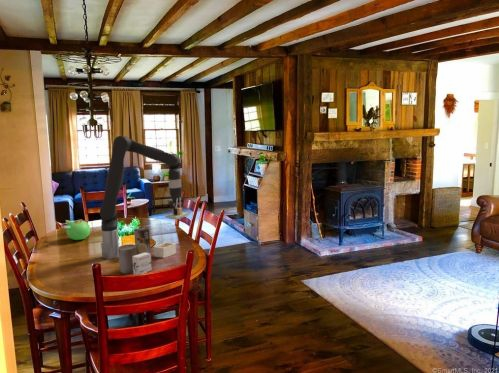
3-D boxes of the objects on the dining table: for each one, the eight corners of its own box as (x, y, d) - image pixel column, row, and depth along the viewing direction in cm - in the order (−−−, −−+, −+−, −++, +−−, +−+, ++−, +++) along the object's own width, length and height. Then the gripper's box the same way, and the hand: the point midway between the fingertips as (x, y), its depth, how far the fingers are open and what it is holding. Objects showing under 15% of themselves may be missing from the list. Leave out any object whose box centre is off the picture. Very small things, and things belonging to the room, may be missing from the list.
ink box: (146, 272, 216) (145, 251, 214) (152, 274, 213) (151, 253, 211) (133, 277, 210) (131, 255, 208) (138, 279, 206) (137, 257, 205)
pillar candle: (139, 267, 225) (138, 241, 223) (135, 273, 215) (133, 246, 213) (122, 268, 224) (120, 242, 222) (117, 274, 215) (115, 247, 213)
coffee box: (150, 251, 253) (149, 227, 251) (150, 254, 247) (149, 229, 244) (135, 253, 250) (134, 228, 248) (135, 256, 244) (134, 231, 242)
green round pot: (90, 241, 280) (89, 221, 278) (64, 244, 274) (62, 223, 272) (90, 235, 297) (89, 216, 295) (66, 237, 291) (64, 218, 289)
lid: (176, 220, 237) (176, 210, 236) (165, 219, 241) (164, 209, 240) (189, 215, 247) (189, 206, 246) (178, 214, 251) (178, 205, 251)
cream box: (163, 258, 240) (163, 248, 239) (154, 256, 244) (153, 246, 243) (176, 253, 249) (175, 243, 249) (166, 251, 254) (166, 242, 253)
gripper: (172, 188, 233) (174, 217, 236) (187, 185, 245) (189, 212, 248) (162, 188, 237) (165, 216, 240) (178, 184, 249) (180, 211, 252)
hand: (177, 214), depth 244 cm, fingers closed on lid, 2 cm apart
